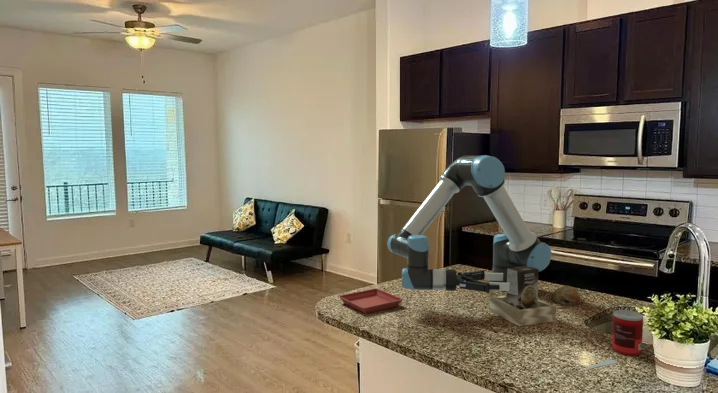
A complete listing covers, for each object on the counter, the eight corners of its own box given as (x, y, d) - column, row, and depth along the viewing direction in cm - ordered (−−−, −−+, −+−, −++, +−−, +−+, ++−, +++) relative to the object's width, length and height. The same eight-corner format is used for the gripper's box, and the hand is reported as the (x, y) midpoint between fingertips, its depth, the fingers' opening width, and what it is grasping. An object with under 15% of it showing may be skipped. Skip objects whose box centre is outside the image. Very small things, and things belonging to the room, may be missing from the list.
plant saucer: (363, 316, 175) (363, 307, 175) (337, 303, 190) (337, 295, 190) (403, 307, 185) (403, 299, 185) (376, 296, 200) (376, 288, 200)
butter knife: (620, 362, 135) (611, 358, 138) (557, 380, 125) (548, 375, 127) (620, 364, 135) (611, 360, 138) (556, 381, 125) (548, 377, 127)
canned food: (634, 346, 147) (635, 310, 146) (646, 357, 139) (648, 319, 138) (607, 345, 148) (608, 309, 147) (618, 356, 140) (620, 318, 139)
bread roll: (552, 311, 191) (552, 295, 187) (552, 293, 199) (553, 278, 195) (580, 314, 187) (581, 298, 183) (579, 296, 195) (580, 280, 191)
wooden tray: (524, 306, 185) (524, 293, 184) (555, 321, 169) (556, 306, 168) (489, 310, 180) (489, 297, 179) (519, 326, 164) (519, 311, 163)
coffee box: (518, 317, 169) (519, 271, 168) (505, 312, 175) (506, 267, 173) (538, 313, 173) (539, 268, 172) (524, 308, 179) (525, 265, 177)
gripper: (443, 281, 189) (500, 283, 186) (446, 300, 165) (511, 302, 162) (443, 261, 189) (500, 263, 186) (446, 278, 164) (512, 280, 161)
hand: (506, 281), depth 174 cm, fingers open, 13 cm apart
